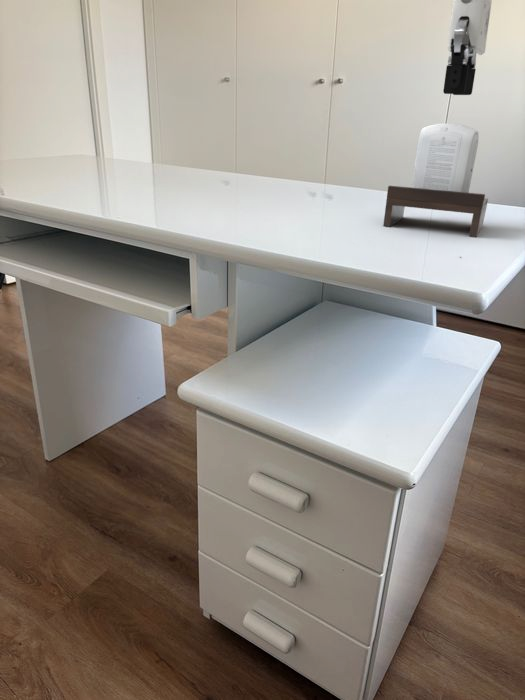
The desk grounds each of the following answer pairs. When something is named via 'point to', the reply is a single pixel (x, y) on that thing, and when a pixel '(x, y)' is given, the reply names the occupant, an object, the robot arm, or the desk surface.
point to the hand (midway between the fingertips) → (457, 94)
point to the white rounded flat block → (445, 157)
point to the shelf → (435, 204)
